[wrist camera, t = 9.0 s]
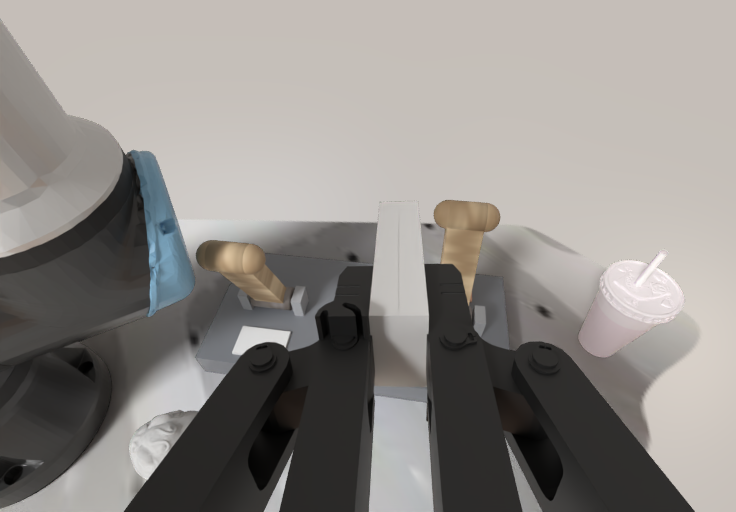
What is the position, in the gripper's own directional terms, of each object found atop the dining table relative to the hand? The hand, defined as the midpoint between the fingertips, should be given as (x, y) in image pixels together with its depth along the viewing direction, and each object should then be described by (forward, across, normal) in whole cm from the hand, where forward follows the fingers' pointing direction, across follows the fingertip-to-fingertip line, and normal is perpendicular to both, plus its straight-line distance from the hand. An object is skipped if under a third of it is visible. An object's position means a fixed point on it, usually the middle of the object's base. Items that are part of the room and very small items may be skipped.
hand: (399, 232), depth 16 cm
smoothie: (+17, +20, -24) cm, 36 cm away
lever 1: (+17, -13, -18) cm, 28 cm away
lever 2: (+15, +4, -20) cm, 25 cm away
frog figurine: (+4, -18, -25) cm, 31 cm away
